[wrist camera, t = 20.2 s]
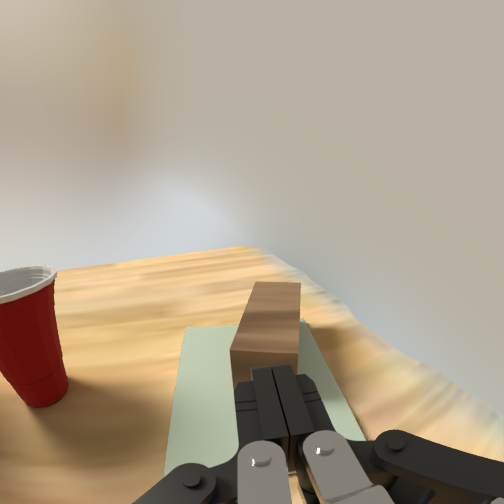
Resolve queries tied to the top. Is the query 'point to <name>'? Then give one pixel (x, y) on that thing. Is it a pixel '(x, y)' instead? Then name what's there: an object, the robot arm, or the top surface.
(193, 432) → the mat
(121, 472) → the top surface
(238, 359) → the walnut block
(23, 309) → the plastic cup
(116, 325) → the top surface
